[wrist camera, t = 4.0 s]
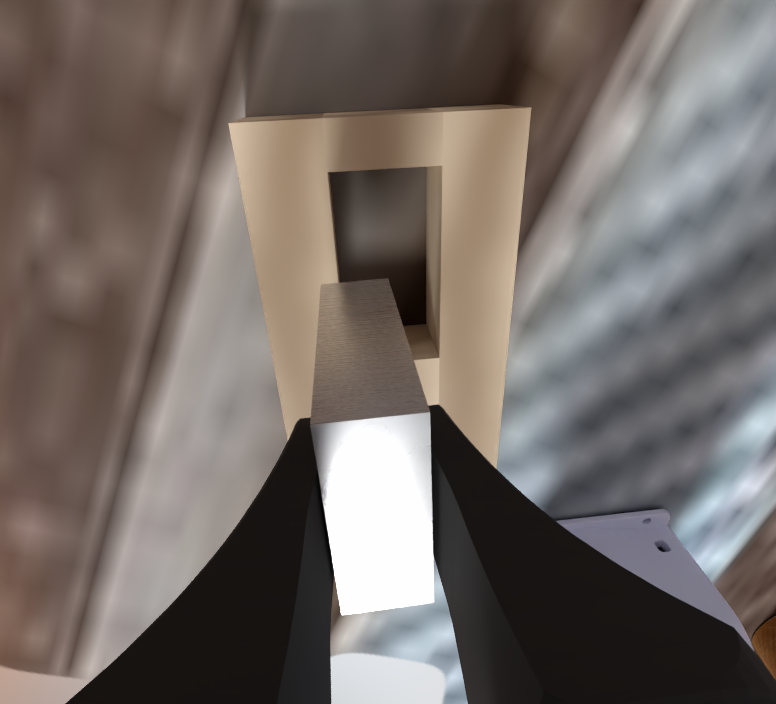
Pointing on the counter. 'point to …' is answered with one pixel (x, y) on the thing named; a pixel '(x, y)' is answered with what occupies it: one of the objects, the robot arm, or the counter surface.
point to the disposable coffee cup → (767, 644)
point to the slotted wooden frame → (443, 241)
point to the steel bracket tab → (372, 450)
